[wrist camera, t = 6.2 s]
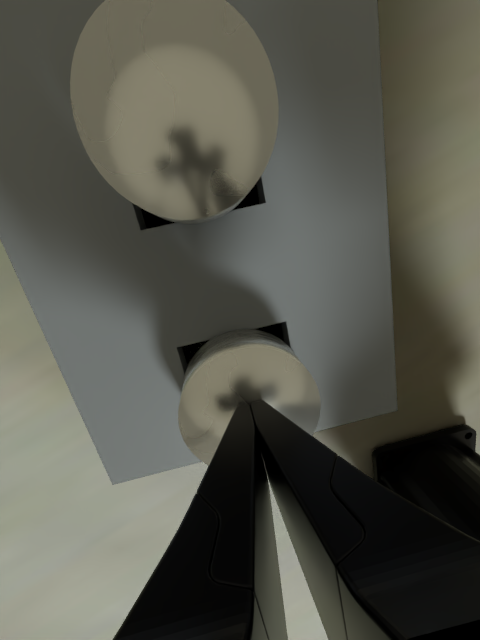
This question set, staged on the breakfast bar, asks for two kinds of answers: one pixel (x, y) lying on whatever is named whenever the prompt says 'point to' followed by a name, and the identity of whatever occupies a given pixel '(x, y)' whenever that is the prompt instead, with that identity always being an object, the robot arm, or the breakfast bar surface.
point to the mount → (203, 232)
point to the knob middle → (175, 104)
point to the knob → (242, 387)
